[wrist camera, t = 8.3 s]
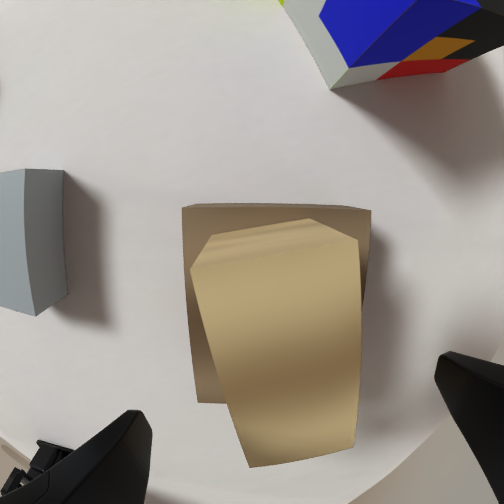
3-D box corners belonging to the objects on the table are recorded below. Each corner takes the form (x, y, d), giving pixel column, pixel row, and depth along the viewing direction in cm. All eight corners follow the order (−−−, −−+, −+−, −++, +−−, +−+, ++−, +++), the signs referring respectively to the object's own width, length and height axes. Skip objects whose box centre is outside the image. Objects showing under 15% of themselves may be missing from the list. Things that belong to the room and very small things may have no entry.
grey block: (69, 293, 16) (35, 316, 12) (30, 285, 15) (-3, 305, 11) (65, 170, 14) (25, 168, 10) (25, 174, 14) (-14, 175, 10)
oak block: (323, 375, 13) (353, 447, 8) (246, 390, 13) (249, 467, 8) (309, 218, 11) (358, 240, 6) (211, 235, 11) (189, 269, 6)
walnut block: (326, 358, 17) (344, 396, 13) (205, 362, 17) (197, 402, 13) (340, 205, 15) (371, 210, 11) (197, 203, 15) (181, 207, 11)
